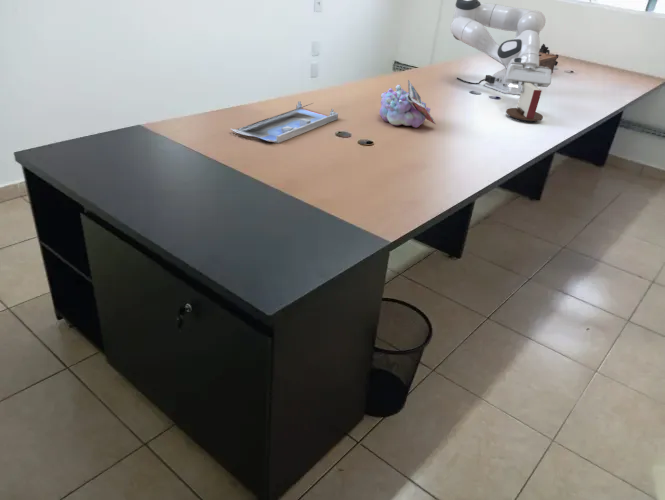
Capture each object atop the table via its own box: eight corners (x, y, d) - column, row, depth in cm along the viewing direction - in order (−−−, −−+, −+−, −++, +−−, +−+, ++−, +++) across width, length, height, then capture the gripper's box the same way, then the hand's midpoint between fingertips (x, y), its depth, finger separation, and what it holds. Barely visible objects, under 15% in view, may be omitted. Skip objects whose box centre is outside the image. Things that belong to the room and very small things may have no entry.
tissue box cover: (530, 67, 351) (535, 51, 346) (552, 72, 343) (557, 56, 338) (513, 71, 333) (517, 54, 328) (535, 77, 326) (540, 59, 321)
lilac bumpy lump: (373, 99, 230) (382, 67, 214) (423, 100, 233) (435, 69, 217) (380, 138, 221) (389, 108, 205) (431, 139, 224) (444, 109, 208)
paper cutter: (337, 119, 218) (339, 105, 215) (267, 147, 184) (268, 131, 181) (300, 108, 225) (301, 94, 222) (226, 133, 191) (226, 117, 188)
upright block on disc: (501, 108, 252) (508, 79, 245) (535, 111, 253) (543, 83, 247) (512, 119, 238) (520, 89, 232) (548, 122, 240) (557, 92, 233)
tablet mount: (517, 66, 385) (518, 47, 371) (526, 52, 389) (527, 33, 375) (556, 75, 372) (558, 56, 359) (564, 60, 376) (567, 41, 363)
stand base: (504, 116, 246) (505, 113, 245) (517, 112, 254) (518, 110, 253) (529, 124, 239) (529, 121, 239) (541, 120, 247) (542, 117, 246)
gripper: (548, 71, 250) (547, 99, 247) (503, 65, 250) (502, 93, 248) (554, 63, 244) (553, 92, 241) (508, 58, 244) (506, 86, 241)
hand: (526, 92), depth 244 cm, fingers closed on upright block on disc, 3 cm apart
